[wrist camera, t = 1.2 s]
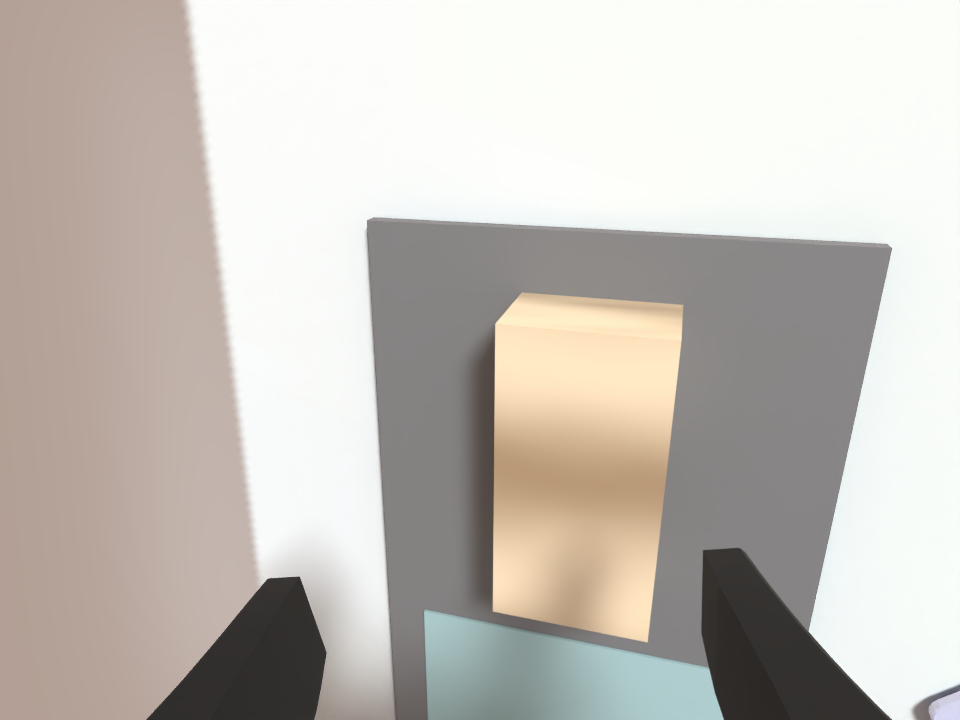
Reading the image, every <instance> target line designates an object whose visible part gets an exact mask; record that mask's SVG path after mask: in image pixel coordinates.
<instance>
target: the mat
mask: <svg viewBox="0 0 960 720" xmlns="http://www.w3.org/2000/svg"><path fill="white" fill-rule="evenodd" d="M367 230H368V247H369V264H370V281H371V298H372V315H373V332H374V349H375V366H376V383H377V400H378V417H379V434H380V451H381V468H382V485H383V502H384V519H385V536H386V553H387V570H388V587H389V604H390V621H391V638H392V654H393V671H394V688H395V705H396V720H724V719H723V716H722V713H721V710H720V707H719V704H718V701H717V698H716V695H715V691H714V687H713V683H712V678H711V674H710V670H709V666H708V661H707V657H706V652H705V647H704V643H703V638H702V634H701V620H702V570H703V550H712V549H727V548H741V549H742V550H743V551H744V552H746V554H747V555H748V556H749V558H750V559H751V561H752V562H753V563H754V565H755V566H756V567H757V569H758V570H759V571H760V573H761V574H762V575H763V577H764V578H765V579H766V581H767V582H768V583H769V585H770V586H771V587H772V588H773V590H774V591H775V592H776V593H777V595H778V596H779V597H780V598H781V600H782V601H783V602H784V603H785V605H786V606H787V607H788V608H789V609H790V611H791V612H792V613H793V614H794V616H795V617H796V618H797V619H798V620H799V621H800V623H801V624H802V625H803V626H804V627H805V628H806V630H807V631H809V626H810V622H811V617H812V612H813V608H814V603H815V599H816V594H817V590H818V585H819V580H820V576H821V571H822V567H823V562H824V558H825V553H826V548H827V544H828V539H829V535H830V530H831V525H832V521H833V516H834V512H835V507H836V503H837V498H838V493H839V489H840V484H841V480H842V475H843V471H844V466H845V461H846V457H847V452H848V448H849V443H850V439H851V434H852V429H853V425H854V420H855V416H856V411H857V406H858V402H859V397H860V393H861V388H862V384H863V379H864V374H865V370H866V365H867V361H868V356H869V352H870V347H871V342H872V338H873V333H874V329H875V324H876V320H877V315H878V310H879V306H880V301H881V297H882V292H883V287H884V283H885V278H886V274H887V269H888V265H889V260H890V255H891V251H892V248H891V247H890V246H889V245H887V244H876V243H856V242H837V241H817V240H798V239H779V238H759V237H740V236H721V235H701V234H682V233H663V232H643V231H624V230H604V229H585V228H566V227H546V226H527V225H508V224H488V223H469V222H450V221H430V220H411V219H391V218H372V219H369V220H367ZM521 293H535V294H548V295H561V296H574V297H587V298H600V299H613V300H626V301H639V302H652V303H665V304H678V305H683V320H682V341H681V350H680V359H679V368H678V377H677V385H676V394H675V403H674V412H673V421H672V430H671V439H670V448H669V457H668V465H667V474H666V483H665V492H664V501H663V510H662V519H661V528H660V537H659V546H658V554H657V563H656V572H655V581H654V590H653V599H652V608H651V617H650V626H649V634H648V642H643V641H638V640H633V639H628V638H623V637H618V636H613V635H608V634H603V633H598V632H593V631H588V630H583V629H578V628H573V627H568V626H563V625H558V624H553V623H548V622H543V621H538V620H533V619H528V618H523V617H518V616H513V615H508V614H503V613H498V612H493V531H494V414H495V324H496V322H497V321H498V320H499V319H500V318H501V317H502V315H503V314H504V313H505V312H506V311H507V309H508V308H509V307H510V306H511V305H512V303H513V302H514V301H515V300H516V299H517V298H518V296H519V295H520V294H521Z"/></svg>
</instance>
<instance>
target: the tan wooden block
mask: <svg viewBox="0 0 960 720" xmlns="http://www.w3.org/2000/svg"><path fill="white" fill-rule="evenodd" d="M682 320H683V305H678V304H665V303H652V302H639V301H626V300H613V299H600V298H587V297H574V296H561V295H548V294H535V293H521V294H520V295H519V296H518V298H517V299H516V300H515V301H514V302H513V303H512V305H511V306H510V307H509V308H508V309H507V311H506V312H505V313H504V314H503V315H502V317H501V318H500V319H499V320H498V321H497V322H496V324H495V414H494V531H493V612H498V613H503V614H508V615H513V616H518V617H523V618H528V619H533V620H538V621H543V622H548V623H553V624H558V625H563V626H568V627H573V628H578V629H583V630H588V631H593V632H598V633H603V634H608V635H613V636H618V637H623V638H628V639H633V640H638V641H643V642H648V634H649V626H650V617H651V608H652V599H653V590H654V581H655V572H656V563H657V554H658V546H659V537H660V528H661V519H662V510H663V501H664V492H665V483H666V474H667V465H668V457H669V448H670V439H671V430H672V421H673V412H674V403H675V394H676V385H677V377H678V368H679V359H680V350H681V341H682Z"/></svg>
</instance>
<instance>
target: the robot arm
mask: <svg viewBox="0 0 960 720" xmlns="http://www.w3.org/2000/svg"><path fill="white" fill-rule="evenodd" d="M701 634H702V638H703V643H704V647H705V652H706V657H707V661H708V666H709V670H710V674H711V678H712V683H713V687H714V691H715V695H716V698H717V701H718V704H719V707H720V710H721V713H722V716H723V719H724V720H892V719H891V718H890V717H888V716H887V715H886V714H885V713H884V712H883V711H882V710H881V709H880V708H879V707H878V706H877V705H876V704H875V703H874V702H873V701H872V700H871V699H870V698H869V697H868V696H867V695H866V694H865V693H864V692H863V690H862V689H861V688H860V687H859V686H858V685H857V684H856V683H855V682H854V681H853V680H852V679H851V678H850V677H849V676H848V675H847V674H846V673H845V672H844V671H843V670H842V669H841V668H840V666H839V665H838V664H837V663H836V662H835V661H834V660H833V659H832V658H831V657H830V656H829V654H828V653H827V652H826V651H825V650H824V649H823V648H822V647H821V645H820V644H819V643H818V642H817V641H816V640H815V639H814V638H813V636H812V635H811V634H810V633H809V632H808V631H807V630H806V628H805V627H804V626H803V625H802V624H801V623H800V621H799V620H798V619H797V618H796V617H795V616H794V614H793V613H792V612H791V611H790V609H789V608H788V607H787V606H786V605H785V603H784V602H783V601H782V600H781V598H780V597H779V596H778V595H777V593H776V592H775V591H774V590H773V588H772V587H771V586H770V585H769V583H768V582H767V581H766V579H765V578H764V577H763V575H762V574H761V573H760V571H759V570H758V569H757V567H756V566H755V565H754V563H753V562H752V561H751V559H750V558H749V556H748V555H747V554H746V552H744V551H743V550H742V549H741V548H727V549H712V550H703V570H702V620H701ZM325 659H326V650H325V647H324V644H323V642H322V639H321V636H320V633H319V630H318V627H317V624H316V622H315V619H314V616H313V613H312V610H311V607H310V605H309V602H308V599H307V596H306V593H305V590H304V588H303V585H302V582H301V579H300V577H286V578H270V579H267V580H266V582H265V583H264V584H263V585H262V586H261V587H260V589H259V590H258V591H257V592H256V593H255V594H254V596H253V597H252V598H251V599H250V600H249V602H248V603H247V604H246V605H245V606H244V608H243V609H242V610H241V611H240V613H239V614H238V615H237V616H236V617H235V619H234V620H233V621H232V622H231V623H230V625H229V626H228V627H227V628H226V630H225V631H224V632H223V633H222V634H221V636H220V637H219V638H218V639H217V640H216V642H215V643H214V644H213V645H212V646H211V648H210V649H209V650H208V651H207V652H206V653H205V655H204V656H203V657H202V658H201V659H200V660H199V662H198V663H197V664H196V665H195V666H194V667H193V669H192V670H191V671H190V672H189V673H188V674H187V676H186V677H185V678H184V679H183V680H182V681H181V682H180V684H179V685H178V686H177V687H176V688H175V689H174V690H173V691H172V693H171V694H170V695H169V696H168V697H167V698H166V699H165V700H164V701H163V702H162V704H161V705H159V707H158V708H157V709H156V710H155V711H154V712H153V713H152V714H151V715H150V716H149V717H148V718H147V720H314V717H315V714H316V710H317V705H318V700H319V694H320V689H321V684H322V677H323V671H324V665H325ZM929 715H930V717H931V720H960V691H958V692H956V693H953V694H950V695H948V696H945V697H943V698H940V699H937V700H936V701H934V702H932V703H931V705H930V706H929Z"/></svg>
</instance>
